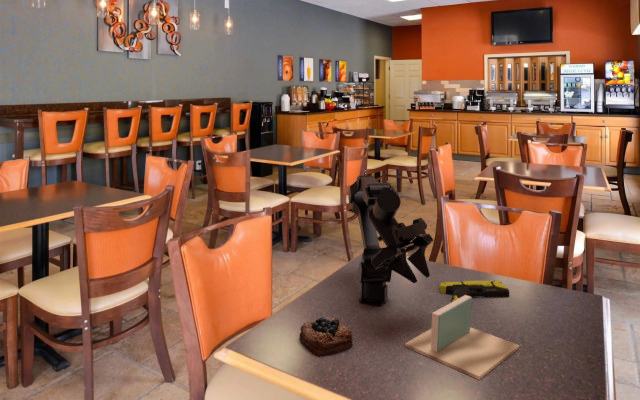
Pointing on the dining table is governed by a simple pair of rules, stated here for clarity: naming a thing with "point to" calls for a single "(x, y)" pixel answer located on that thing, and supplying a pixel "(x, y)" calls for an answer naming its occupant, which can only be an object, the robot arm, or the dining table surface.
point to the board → (467, 351)
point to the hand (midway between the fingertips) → (422, 279)
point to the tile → (450, 322)
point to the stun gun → (474, 289)
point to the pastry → (325, 336)
